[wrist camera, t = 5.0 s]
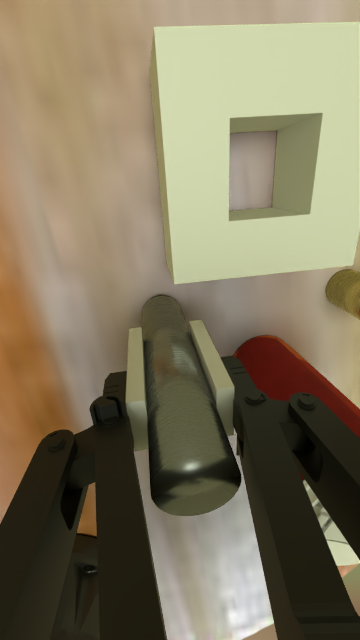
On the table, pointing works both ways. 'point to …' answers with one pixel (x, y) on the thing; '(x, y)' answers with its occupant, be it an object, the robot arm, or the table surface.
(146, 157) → the table surface
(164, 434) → the long pin
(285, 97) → the hole block
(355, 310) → the short pin
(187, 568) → the table surface
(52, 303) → the table surface
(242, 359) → the paper cup
